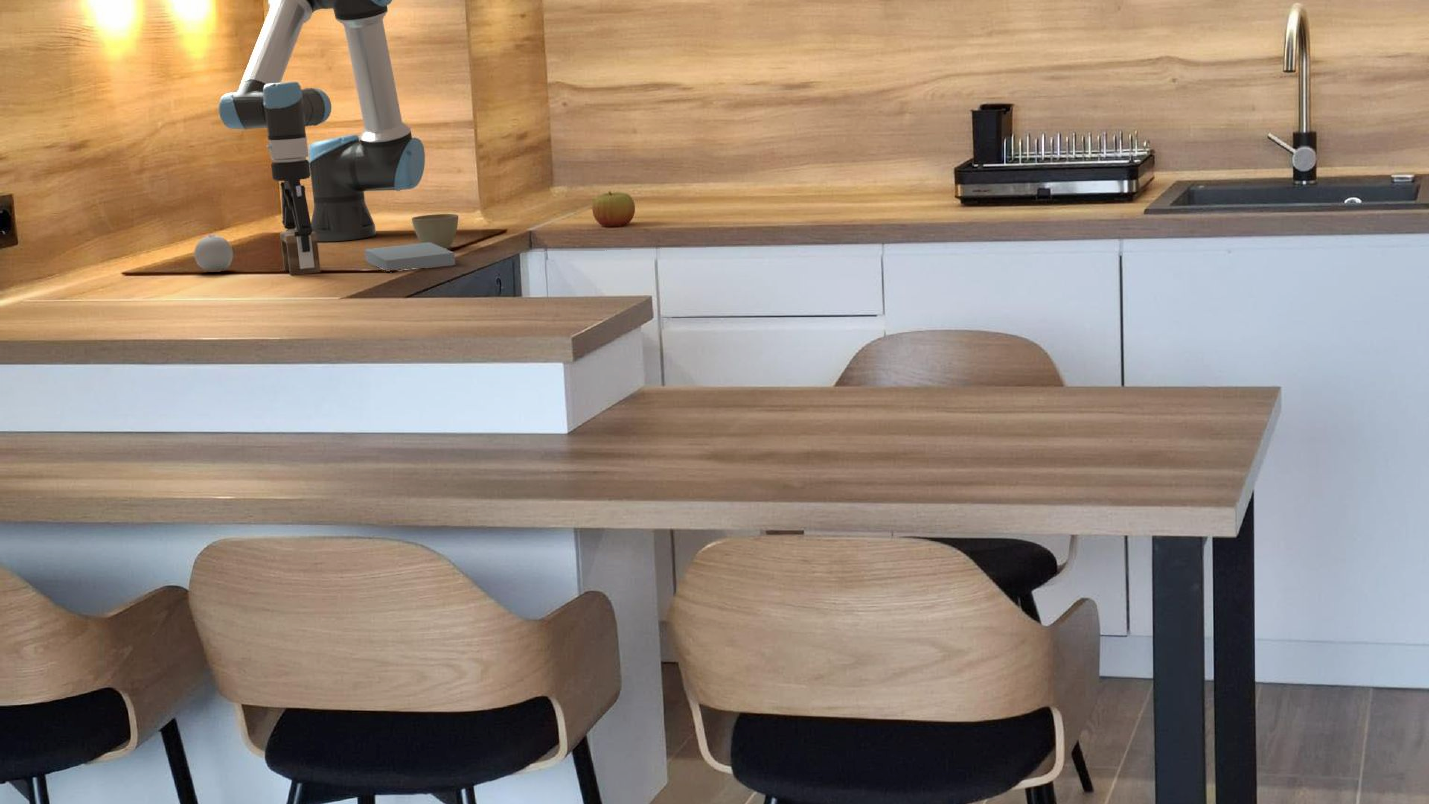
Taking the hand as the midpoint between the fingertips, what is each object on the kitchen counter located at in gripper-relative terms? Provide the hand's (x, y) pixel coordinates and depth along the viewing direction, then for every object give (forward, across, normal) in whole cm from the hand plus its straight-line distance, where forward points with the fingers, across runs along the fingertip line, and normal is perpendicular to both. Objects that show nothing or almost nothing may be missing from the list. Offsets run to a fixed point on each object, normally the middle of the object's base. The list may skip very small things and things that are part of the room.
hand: (301, 264), depth 356 cm
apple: (+2, -17, +74) cm, 76 cm away
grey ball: (+2, -13, -15) cm, 20 cm away
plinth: (+1, +6, +21) cm, 22 cm away
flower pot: (+2, -10, +31) cm, 33 cm away
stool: (+2, 0, 0) cm, 2 cm away
